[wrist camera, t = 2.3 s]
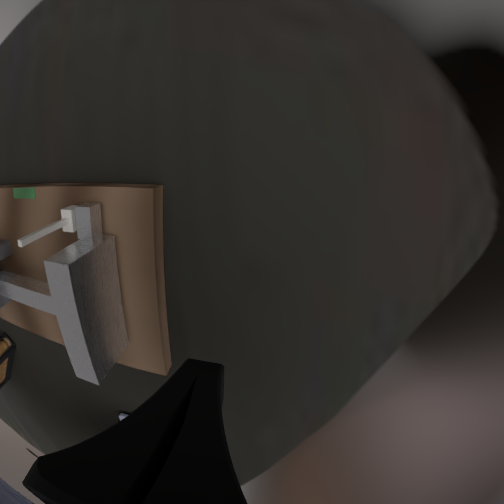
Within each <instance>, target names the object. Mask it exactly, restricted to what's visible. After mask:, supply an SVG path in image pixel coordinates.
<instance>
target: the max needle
mask: <svg viewBox="0 0 504 504" xmlns="http://www.w3.org/2000/svg"><path fill="white" fill-rule="evenodd" d="M75 206H78V205H71V206H69V207H66V208H63V209H61V218H62V219H61V220H59V221H57V222H55V223H52V224H50V225H48V226H46V227H43V228H41V229H39V230H37V231H35V232H33V233H31V234H29V235H27V236H25V237H22V238H20V239H18V240H17V241H18V247H24V246H25V245H27V244H29V243H31V242H33V241H35V240H37V239H39V238H41V237H43V236H45V235H47V234H49V233H51V232H53V231H55V230H57V229H59V228H61V227H62V228H63V231H64V232H75V231H77V225H76V213H75Z"/></svg>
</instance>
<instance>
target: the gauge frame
mask: <svg viewBox="0 0 504 504" xmlns="http://www.w3.org/2000/svg"><path fill="white" fill-rule="evenodd" d="M86 202H91V203H101V221H102V234H103V235H112V236H115V248H116V259H117V268H118V277H119V285H120V293H121V300H122V307H123V313H124V319H125V325H126V331H127V336H128V341H129V344H128V345H127V347H126V348H125V349H124V351H123V352H122V354H121V355H120V356H119V358H118V359H117V361H116V363H119V364H122V365H126V366H129V367H133V368H137V369H140V370H144V371H148V372H152V373H156V374H160V375H165V376H166V375H167V373H168V371H169V369H170V367H171V365H172V363H171V354H170V344H169V334H168V323H167V310H166V296H165V278H164V254H163V185H153V184H124V183H41V184H14V185H0V271H2V270H4V271H7V272H11V273H14V274H17V275H21V276H24V277H28V278H31V279H35V280H38V281H42V282H46V283H48V280H47V276H46V271H45V265H44V260H45V259H47V258H48V257H50V256H52V255H54V254H55V253H57V252H59V251H60V250H62V249H64V248H65V247H67V246H69V245H71V244H72V243H74V242H76V241H78V240H80V239H78V235H77V231H75V232H64V231H63V228H62V227H61V228H59V229H57V230H55V231H53V232H51V233H49V234H47V235H45V236H43V237H41V238H39V239H37V240H35V241H33V242H31V243H29V244H27V245H25V246H24V247H18V241H17V240H18V239H20V238H22V237H25V236H27V235H29V234H31V233H33V232H35V231H37V230H39V229H41V228H43V227H46V226H48V225H50V224H52V223H55V222H57V221H59V220H61V219H62V218H61V209H63V208H66V207H69V206H71V205H80V204H83V203H86ZM0 318H2V319H4V320H6V321H8V322H10V323H12V324H15V325H17V326H19V327H21V328H23V329H26V330H28V331H30V332H32V333H35V334H37V335H40V336H42V337H44V338H47V339H49V340H52V341H54V342H57V343H60V344H62V345H65V343H64V340H63V337H62V334H61V330H60V327H59V324H58V320H57V317H56V315H53V314H50V313H47V312H45V311H42V310H39V309H36V308H33V307H31V306H28V305H25V304H22V303H20V302H17V301H15V300H12V299H10V298H7V297H5V296H2V295H0Z"/></svg>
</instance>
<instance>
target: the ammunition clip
mask: <svg viewBox="0 0 504 504" xmlns="http://www.w3.org/2000/svg"><path fill="white" fill-rule="evenodd" d="M15 348H16V345H15V344H14V343H13V341H12V340H11V339H10V338H9V337H8V336H7V334H6V333H4V334H3V335H2V336H1V337H0V389H1V387H2V386H3V385H4V384H5V383H6V382H7V381H8V380H9V379H10V374H11V368H12V362H13V357H14V352H15Z"/></svg>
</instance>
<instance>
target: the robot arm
mask: <svg viewBox="0 0 504 504" xmlns="http://www.w3.org/2000/svg"><path fill="white" fill-rule="evenodd" d="M223 390H224V366H223V365H222V364H218V363H212V362H206V361H200V360H195V359H190V358H189V359H187V360H186V361H185V362H184V363H183V364H182V365H181V367H180V368H179V369H178V370H177V371H176V372H175V373H174V374H173V375H172V376H171V378H170V379H169V380H168V381H167V382H166V383H165V384H164V385H163V386H162V387H161V388H160V389H158V390H157V391H156V392H155V393H154V394H153V395H152V396H151V397H150V398H149V399H148V400H146V401H145V402H144V403H143V404H142V405H140V406H139V407H138V408H137V409H136V410H134V411H133V412H132V413H130V414H129V415H127V414H124V413H121V414H120V415H119V418H120V421H119V422H118V423H116V424H115V425H113V426H111V427H110V428H108V429H106V430H105V431H103V432H101V433H99V434H98V435H96V436H94V437H92V438H90V439H87V440H85V441H83V442H81V443H78V444H76V445H74V446H72V447H69V448H66V449H64V450H60V451H57V452H54V453H51V454H47V455H44V456H40V457H38V459H37V460H36V461H35V462H34V464H33V465H32V467H31V469H30V470H29V472H28V474H27V475H26V477H25V479H24V480H23V482H22V483H23V485H24V486H25V487H26V488H27V489H28V490H29V491H30V492H32V493H33V494H34V495H35V496H36V497H38V498H39V499H40V500H41V501H43V502H44V503H45V504H247V502H246V499H245V497H244V495H243V492H242V490H241V487H240V484H239V482H238V479H237V476H236V473H235V470H234V467H233V464H232V461H231V457H230V454H229V450H228V446H227V441H226V436H225V431H224V425H223V418H222V403H223ZM0 504H34V503H33V502H31V501H30V500H28V499H27V498H26V497H24V496H23V495H21V494H20V493H19V492H17V491H16V490H15V489H14V488H12V487H11V486H10V485H8V484H7V483H6V482H5V481H3V480H2V479H1V478H0Z"/></svg>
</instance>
